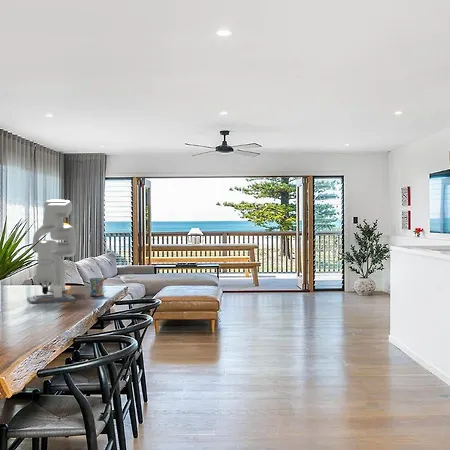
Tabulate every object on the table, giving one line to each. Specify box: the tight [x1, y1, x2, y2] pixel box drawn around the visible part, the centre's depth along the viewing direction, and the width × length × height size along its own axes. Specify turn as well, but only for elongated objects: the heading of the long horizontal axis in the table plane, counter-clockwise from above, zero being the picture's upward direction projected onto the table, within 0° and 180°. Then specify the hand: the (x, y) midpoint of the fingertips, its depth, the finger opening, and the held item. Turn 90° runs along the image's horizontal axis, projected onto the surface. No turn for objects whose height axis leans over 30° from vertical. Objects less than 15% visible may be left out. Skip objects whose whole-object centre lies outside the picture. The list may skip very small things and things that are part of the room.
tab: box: [52, 286, 63, 298], centre depth 297 cm, size 4×4×7 cm
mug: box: [88, 277, 105, 297], centre depth 315 cm, size 12×9×11 cm
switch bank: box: [26, 293, 76, 305], centre depth 299 cm, size 18×24×2 cm
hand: (45, 293), depth 302 cm, fingers closed
